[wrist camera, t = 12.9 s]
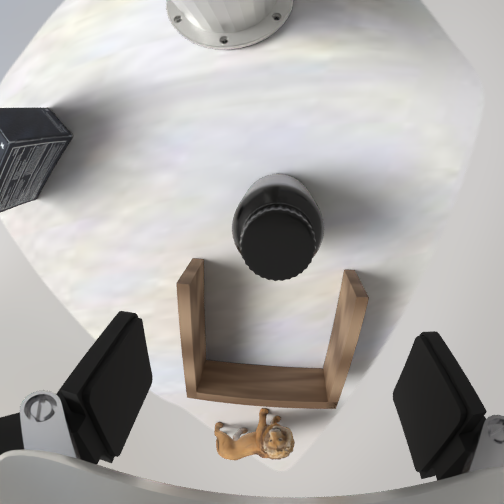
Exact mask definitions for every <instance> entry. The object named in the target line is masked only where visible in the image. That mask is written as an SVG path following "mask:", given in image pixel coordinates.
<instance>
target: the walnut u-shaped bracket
mask: <svg viewBox="0 0 504 504" xmlns="http://www.w3.org/2000/svg"><path fill="white" fill-rule="evenodd" d="M177 298H178V312H179V325H180V336H181V347H182V357H183V366H184V375H185V384H186V392H187V398H194V399H200V400H207V401H215V402H223V403H232V404H242V405H253V406H266V407H282V408H312V409H336V406H337V404H338V401H339V398H340V395H341V392H342V389H343V386H344V383H345V380H346V377H347V374H348V371H349V368H350V365H351V361H352V358H353V355H354V351H355V348H356V345H357V341H358V338H359V334H360V330H361V327H362V323H363V319H364V315H365V311H366V307H367V303H368V299H369V297H368V295H367V293H366V291H365V289H364V287H363V285H362V283H361V281H360V279H359V278H358V276H357V274H356V272H355V270H344V274H343V279H342V284H341V290H340V295H339V300H338V305H337V310H336V314H335V319H334V324H333V328H332V333H331V337H330V342H329V346H328V350H327V354H326V358H325V362H324V366H323V369H321V368H295V367H277V366H263V365H251V364H240V363H230V362H220V361H212V360H206V340H205V309H204V259H195V258H193V259H192V260H191V262H190V263H189V265H188V266H187V268H186V269H185V271H184V273H183V274H182V276H181V277H180V279H179V280H178V282H177Z"/></svg>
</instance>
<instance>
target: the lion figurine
mask: <svg viewBox="0 0 504 504" xmlns="http://www.w3.org/2000/svg"><path fill="white" fill-rule="evenodd" d="M267 414H268V409H265V408H262V409H261V410H260V413H259V424H258V427H257V429H256V432H251V433H248V434H245V435H243V436H241V437H240V435H241V434H243V433H247V429H246V428H241V429H239V431H238V432H237V433H236V434H235V435H233V439H232V438H231V437H229V436H228V435H227V434H226V433H224V432H222V431H220V430H219V429H220V428H223V424H222V423H221V422H218V423H216V425H215V436H216V437H217V440H216V447H217V452H218V454H219V455H220V456H221V457H223V458H225V459H230V460H238V459H241V458H243V457H246V456H249V455H253V454H257V455H259V456H260V457H262V458H270V459H272V460H273V459H281V458H285V457H287V456H289V454H290V453H291V452H293V447H294V443H295V442H294V439H293V436H292V432H291V430H290V429H289V428H287V427H282V426H281V425H279V424H277V422H279V421H280V420H281V419H280V417H279V416H275V417H273V418H272V421H271V423H270V424H271V425H266V415H267Z"/></svg>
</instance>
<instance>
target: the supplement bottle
mask: <svg viewBox="0 0 504 504" xmlns="http://www.w3.org/2000/svg"><path fill="white" fill-rule="evenodd" d="M232 234H233V239H234V242H235V245H236V247H237V249H238V251H239V253H240V254H241V255H242V258H243V259H244V260H245V264H246V265H248V266H249V269H250V270H252V271H254V273H255V274H257V275H260V277H262V278H266V279H268V280H274V281H277V280H281V281H283V280H285V279H291V278H292V277H296V276H297V275H298V274H300V273H302V272H303V271H304V269H306V268H307V267H308V264H310V263H311V261H312V258H313V257H314V256H315V254H316V253H317V251H318V250H319V248H320V245H321V243H322V239H323V234H324V223H323V218H322V214H321V212H320V209H319V207H318V205H317V204H316V202H315V200H314V199H313V197H312V196H311V194H310V192H309V191H308V189H307V188H306V187H305V186H304V185H303V184H302V183H301V182H300V181H299V180H297V179H295V178H294V177H291V176H288V175H284V174H272V175H267V176H265V177H262V178H260V179H259V180H257V181H256V182H255V183H254V184H253V185H252V186H251V187H250V188H249V189H248V191H247V193H246V194H245V196H244V197H243V199H242V200H241V202H240V203H239V205H238V207H237V209H236V211H235V214H234V218H233V223H232Z"/></svg>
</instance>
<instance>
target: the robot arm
mask: <svg viewBox="0 0 504 504" xmlns="http://www.w3.org/2000/svg"><path fill="white" fill-rule="evenodd" d="M292 6H293V0H166V10H167V14H168V18H169V20H170V22H171V24H172V25H173V27H174V28H175V29H176V30H177V31H178V32H179V33H180V34H181V35H182V36H183V37H184V38H186V39H187V40H189V41H191V42H192V43H194V44H197V45H200V46H203V47H206V48H212V49H227V50H228V49H236V48H242V47H246V46H250V45H253V44H255V43H258V42H260V41H262V40H264V39H266V38H267V37H269V36H270V35H272V34H274V33H275V32H276V31H277V30H278V29H279V28H280V27H281V26H282V25H283V24H284V22H285V21H286V20H287V18H288V17H289V14H290V12H291V10H292ZM275 18H279V20H274V19H275ZM180 20H181V21H180ZM179 21H180V22H179ZM225 40H227V41H228V42H227V43H226V44H223V42H224V41H225ZM151 384H152V372H151V367H150V362H149V356H148V351H147V346H146V340H145V334H144V328H143V322H142V319H141V318H138V316H137V314H136V313H131V312H124V311H120V312H119V313H118V314H117V315H116V316H115V317H114V319H113V320H112V321H111V322H110V324H109V325H108V326H107V328H106V329H105V330H104V331H103V333H102V334H101V335H100V336H99V338H98V339H97V340H96V342H95V343H94V344H93V346H92V347H91V348H90V349H89V351H88V352H87V353H86V354H85V356H84V357H83V358H82V360H81V361H80V363H79V364H78V365H77V366H76V368H75V369H74V370H73V372H72V373H71V375H70V376H69V377H68V379H67V380H66V381H65V383H64V384H63V386H62V387H61V388H60V390H59V391H58V393H57V394H55V393H52V392H51V391H45V390H43V391H36V392H33V393H31V394H30V395H28V396H27V397H26V398H25V399H24V400H23V401H22V403H21V406H20V413H16V414H12V415H9V416H5V417H1V418H0V504H504V416H501V415H492V416H490V417H488V418H487V419H486V418H485V417H484V415H485V413H486V409H485V408H484V406H483V404H482V402H481V400H480V399H479V397H478V395H477V394H476V392H475V390H474V388H473V387H472V385H471V383H470V382H469V380H468V378H467V377H466V375H465V373H464V372H463V370H462V369H461V367H460V365H459V364H458V362H457V361H456V359H455V357H454V356H453V355H452V353H451V351H450V350H449V348H448V347H447V345H446V344H445V342H444V341H443V339H442V338H441V336H440V335H439V333H438V332H422V333H421V334H420V336H417V337H416V339H415V341H414V344H413V346H412V349H411V351H410V354H409V356H408V359H407V361H406V364H405V366H404V368H403V371H402V373H401V375H400V378H399V380H398V383H397V384H396V387H395V389H394V392H393V401H394V403H395V406H396V409H397V412H398V415H399V418H400V421H401V424H402V427H403V431H404V433H405V437H406V440H407V443H408V446H409V450H410V453H411V456H412V460H413V463H414V467H415V469H416V471H417V472H420V476H421V479H424V478H428V477H432V476H435V475H436V478H437V481H434V482H429V483H425V484H420V485H415V486H411V487H405V488H400V489H394V490H388V491H381V492H375V493H366V494H358V495H347V496H334V497H310V498H309V497H308V498H284V497H282V498H281V497H260V496H246V495H235V494H226V493H218V492H210V491H203V490H197V489H191V488H186V487H180V486H175V485H171V484H166V483H161V482H157V481H153V480H149V479H145V478H141V477H136V476H133V475H129V474H126V473H122V472H119V471H115V470H112V469H109V468H106V467H103V466H99V465H96V464H98V462H99V460H100V459H101V460H104V461H107V462H110V463H112V461H113V459H114V457H115V456H117V457H118V456H119V455H120V454H121V451H122V449H123V447H124V445H125V442H126V440H127V438H128V436H129V433H130V431H131V429H132V427H133V424H134V422H135V420H136V417H137V415H138V413H139V411H140V409H141V406H142V404H143V402H144V400H145V398H146V395H147V393H148V391H149V389H150V387H151Z"/></svg>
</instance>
